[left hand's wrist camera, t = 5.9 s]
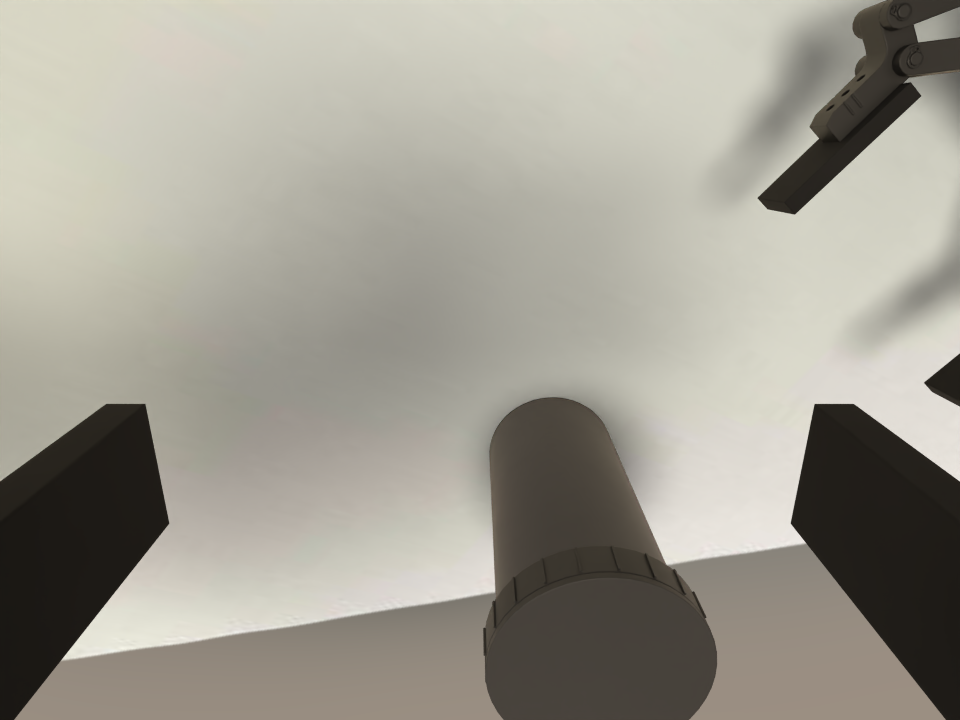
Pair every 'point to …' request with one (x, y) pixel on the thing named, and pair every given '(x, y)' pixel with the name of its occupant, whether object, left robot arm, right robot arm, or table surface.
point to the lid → (598, 640)
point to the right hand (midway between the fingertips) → (864, 306)
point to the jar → (559, 488)
